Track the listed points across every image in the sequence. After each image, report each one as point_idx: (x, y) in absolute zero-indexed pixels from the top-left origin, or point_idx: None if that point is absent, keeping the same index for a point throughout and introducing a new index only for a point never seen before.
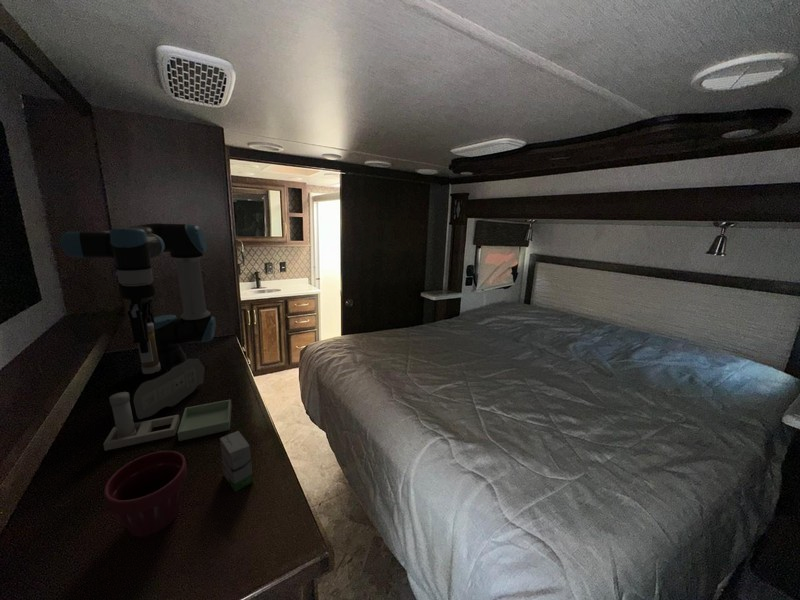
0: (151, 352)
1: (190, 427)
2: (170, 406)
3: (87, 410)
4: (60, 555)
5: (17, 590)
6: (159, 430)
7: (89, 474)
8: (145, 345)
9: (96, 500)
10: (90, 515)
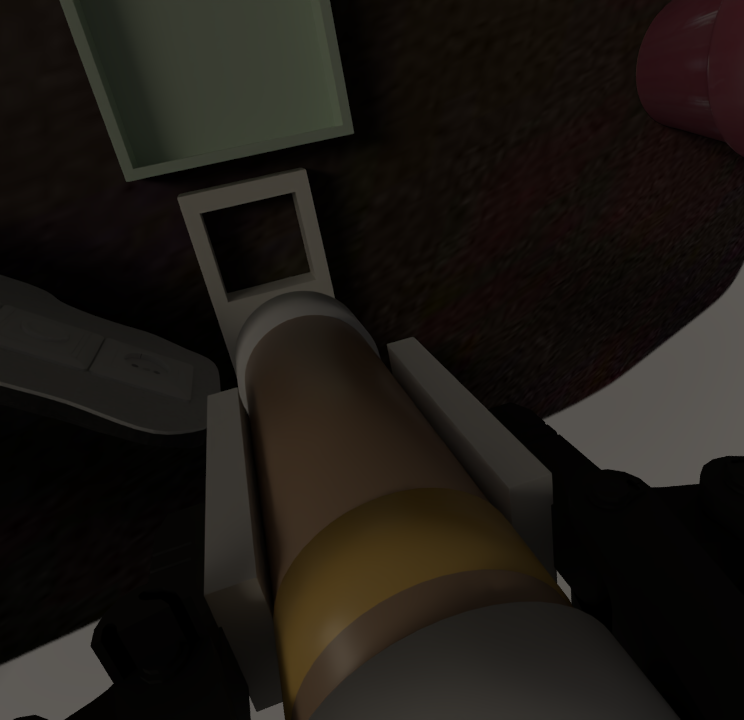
0: (446, 382)
1: (259, 109)
2: (51, 294)
3: (79, 603)
4: (693, 247)
5: (734, 275)
6: (306, 232)
7: (453, 355)
8: (582, 463)
9: (562, 270)
10: (608, 253)
